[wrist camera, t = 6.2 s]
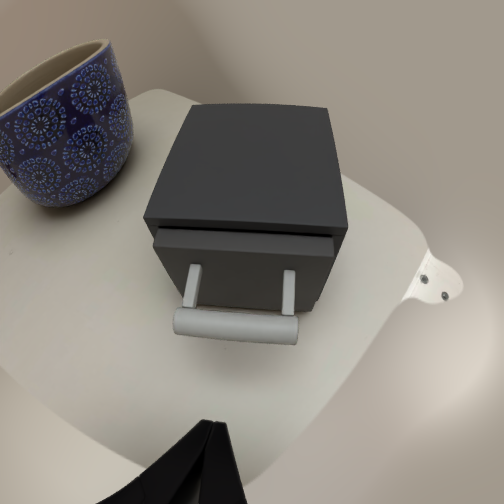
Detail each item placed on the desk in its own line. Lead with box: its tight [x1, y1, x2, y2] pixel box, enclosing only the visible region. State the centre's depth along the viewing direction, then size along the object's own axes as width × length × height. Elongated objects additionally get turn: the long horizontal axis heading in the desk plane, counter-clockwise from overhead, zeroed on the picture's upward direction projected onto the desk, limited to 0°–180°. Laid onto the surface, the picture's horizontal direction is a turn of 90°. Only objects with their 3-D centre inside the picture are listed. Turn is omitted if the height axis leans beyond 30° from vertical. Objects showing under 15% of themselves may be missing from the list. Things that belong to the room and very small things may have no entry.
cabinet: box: [143, 104, 348, 301], centre depth 21 cm, size 11×10×9 cm
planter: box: [0, 39, 133, 207], centre depth 25 cm, size 16×17×15 cm
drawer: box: [153, 226, 334, 345], centre depth 19 cm, size 14×9×8 cm, turn 175°
